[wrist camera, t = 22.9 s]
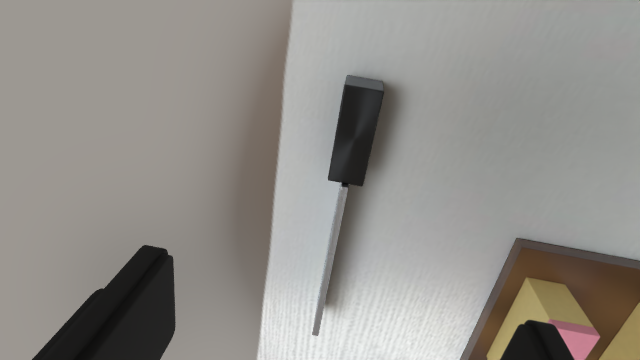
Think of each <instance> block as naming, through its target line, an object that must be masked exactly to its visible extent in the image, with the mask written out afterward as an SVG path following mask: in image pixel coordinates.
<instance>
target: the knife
mask: <svg viewBox="0 0 640 360" xmlns="http://www.w3.org/2000/svg"><path fill="white" fill-rule="evenodd" d="M383 94H384V89H383V83H382V81H379V80H373V79H368V78H362V77H356V76H350V75H347V77H346V81H345V84H344V90H343V95H342V101H341V107H340V112H339V118H338V124H337V130H336V135H335V141H334V147H333V152H332V158H331V164H330V170H329V175H328V180H330V181H335V182H341V184H340V189H339V194H338V199H337V204H336V209H335V215H334V220H333V225H332V230H331V235H330V241H329V246H328V251H327V256H326V261H325V266H324V272H323V277H322V282H321V287H320V292H319V297H318V303H317V308H316V315H315V321H314V327H313V333H312V335H316V336H318V334H319V329H320V324H321V319H322V315H323V310H324V305H325V300H326V295H327V290H328V285H329V280H330V276H331V271H332V266H333V261H334V256H335V251H336V246H337V241H338V236H339V232H340V227H341V222H342V217H343V212H344V207H345V202H346V197H347V193H348V187H349V184H351V185H357V186H363V184H364V179H365V175H366V170H367V166H368V161H369V157H370V152H371V148H372V144H373V139H374V135H375V130H376V126H377V121H378V117H379V112H380V108H381V103H382V99H383Z"/></svg>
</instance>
